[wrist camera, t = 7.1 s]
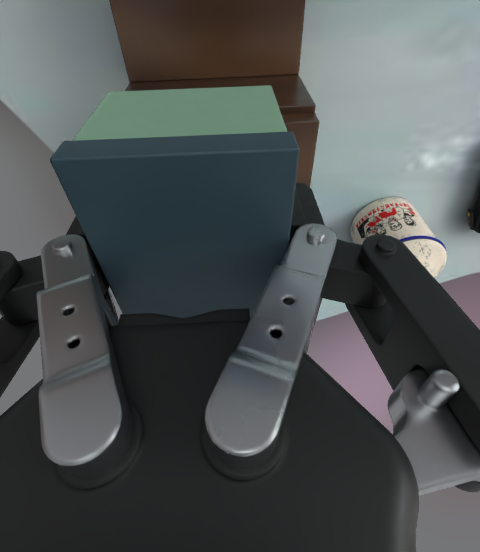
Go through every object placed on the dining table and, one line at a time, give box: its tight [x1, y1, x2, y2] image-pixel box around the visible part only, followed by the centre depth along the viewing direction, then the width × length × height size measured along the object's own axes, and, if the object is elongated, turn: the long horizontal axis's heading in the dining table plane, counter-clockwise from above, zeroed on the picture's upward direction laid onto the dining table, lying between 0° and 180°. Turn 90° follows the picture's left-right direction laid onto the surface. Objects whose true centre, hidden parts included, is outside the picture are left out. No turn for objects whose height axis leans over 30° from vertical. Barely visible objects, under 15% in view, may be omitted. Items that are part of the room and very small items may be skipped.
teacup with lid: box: [350, 197, 447, 278], centre depth 41 cm, size 12×9×12 cm
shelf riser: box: [109, 0, 319, 188], centre depth 26 cm, size 22×14×14 cm, turn 2°
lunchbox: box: [50, 85, 300, 318], centre depth 12 cm, size 8×6×5 cm
